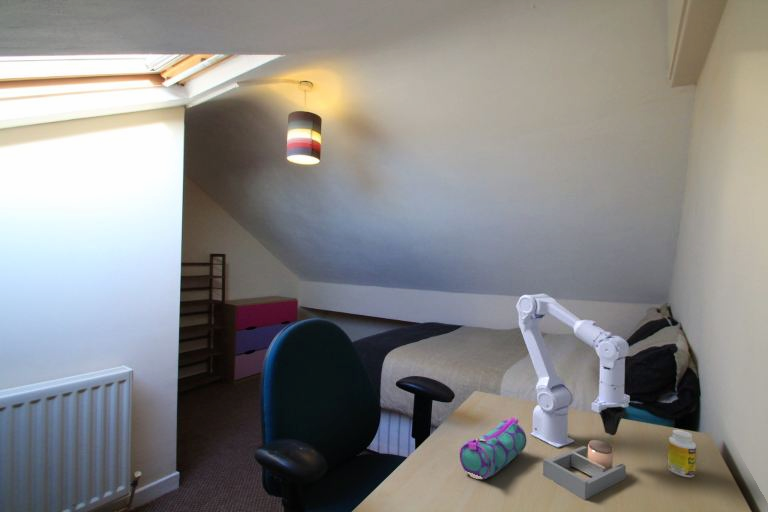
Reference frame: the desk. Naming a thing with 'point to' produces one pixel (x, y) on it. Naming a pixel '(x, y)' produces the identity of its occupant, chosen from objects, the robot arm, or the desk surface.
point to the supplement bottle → (682, 454)
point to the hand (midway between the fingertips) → (610, 433)
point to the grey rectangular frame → (576, 484)
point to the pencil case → (493, 449)
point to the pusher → (586, 465)
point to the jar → (601, 453)
